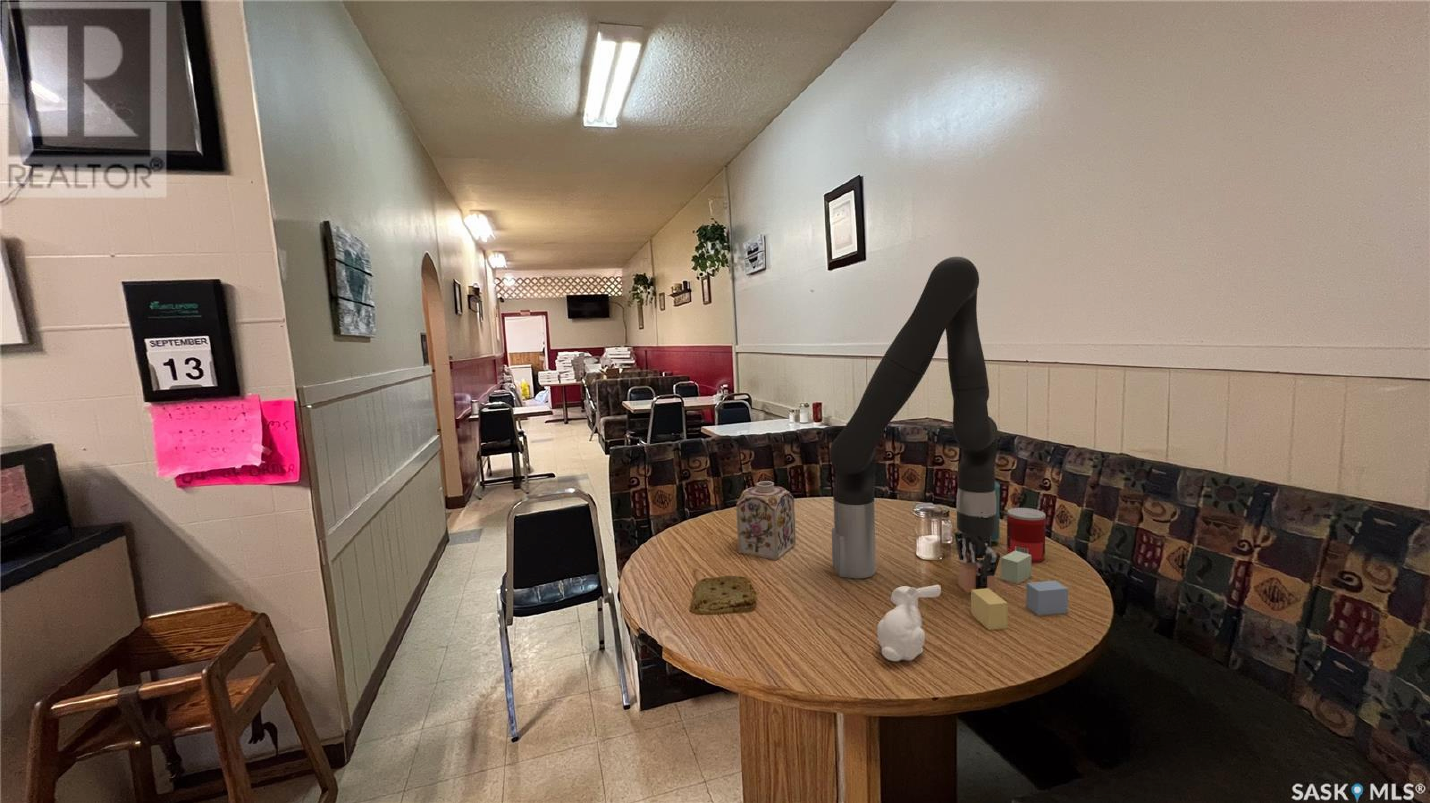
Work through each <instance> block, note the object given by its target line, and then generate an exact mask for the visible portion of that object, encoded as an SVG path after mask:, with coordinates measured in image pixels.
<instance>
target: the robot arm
mask: <svg viewBox="0 0 1430 803" xmlns="http://www.w3.org/2000/svg"><path fill="white" fill-rule="evenodd" d="M979 274H980V273H979V271H978V269H977V267H976V266H975V265H974V263H973V262H972V261H971V260H970V259H968V258H965V257H962V256H951V257H948V258H947V257H946V258H944V259H943V260H941V261H940V262H939V263H937V264H936V265H935V266H934V268H933V269H932V270H931V272H930V274H929V277H928V279H927V281H926V283H925V286H924V288H923V291H922V293H921V295H920V296H919V299H918V301H917V303H916V305H915V308H914V309H913V311H912V313H911V314H910V316H909V318H908V319H907V320H906V322H905V323H904V325H903V327H902V328H901V329H900V331H899V332H898V333H897V334H896V336H895V338H894V340H893V341H892V342H891V344H890V345H889V347H888V349H887V350H886V351H885V353H884V355H883V357H882V359H881V360H880V362H879V363H878V366H877V367H876V368H875V371H874V372H873V375H872V377H871V378H870V381H869V382H868V384H867V386H866V388H865V389H864V390H865V391H864V393H863V395H862V397H861V399H860V401H859V404H858V406H857V408H856V410H855V411H854V413H853V415H852V416H851V418H850V419H849V420H848V422H847V423H846V425H845V427H844V428H843V429H842V430H841V432H840V433H839V434H838V436H837V437H835V439H834V440H833V442H832V443H831V445H830V448H829V460H830V463H831V465H832V467H833V468H834V469H835V477H834V484H833V489H832V493H833V494H832V498H833V499H832V500H833V527H832V528H831V551H832V552H831V553H832V554H831V556H832V568H833V569H834V570H835V572H836V573H837V575H838V576H839V577H840V578H851V579H865V578H870V577H873V576H874V575H875V574H876V572H877V571H876V570H877V569H876V568H877V561H876V523H875V522H876V520H875V519H876V515H875V509H876V508H875V491H876V490H875V489H876V447H877V446H878V443H879V441H880V439H881V437H882V436H883V433H884V431H885V430H886V428H887V427H888V425H889V424H890V423H891V421H892V420H893V419H894V418H895V417H896V415H897V414H898V413H899V412H900V410H901V409H902V408H903V407H904V405H905V404H906V403H907V402H908V400H909V399H910V397H912V395H913V393H914V392H915V390H916V389H917V387H918V385H919V384H920V382H921V380H922V379H923V377H924V375H925V374H926V373H927V370H928V368H929V366H930V364H931V362H932V361H933V359H934V356H935V353H936V351H937V349H938V346H939V344H940V341H941V339H942V336H943V335H944V332H945V333H946V334H945V335H946V346H947V348H946V349H947V350H946V352H947V366H948V374H949V375H948V376H949V382H950V388H951V394H952V402H953V403H952V404H953V405H952V428H953V435H954V438H955V440H956V442H957V444H958V445H959V447H961V450H962V453H961V460H960V462H959V464H958V468H957V470H958V471H957V493H956V529H957V530H958V531H957V532H954V539H955V543H956V549H957V555H958V559H959V561H962V563H969V562H972V563H973V564H975V572H976V589H985V588H987V576H994V575H995V574H996V572H997V569H998V566H999V563H1000V561H1001V555H1000V553H999V552H995V551H994V550H993V549H992V541H990V537H991V536H992V535H993V534H995V532H996V495H995V481H996V470H995V464H996V457H997V452H998V444H999V443H998V442H999V429H998V425H997V424H996V421H995V420H994V419H993V418H992V417H991V416H989V410H988V409H989V408H988V400H989V398H990V388H989V387H990V385H989V379H988V374H987V373H988V372H987V371H988V370H987V366H986V360H985V355H984V351H983V346H982V343H981V337H980V332H979V326H978V316H977V315H978V313H977V311H978V310H977V308H978V307H977V302H978V289H979V286H980V275H979ZM981 564H982V568H981V570H980V565H981ZM989 569H990V570H989Z"/></svg>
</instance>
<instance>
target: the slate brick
mask: <svg viewBox="0 0 1430 803" xmlns="http://www.w3.org/2000/svg"><path fill="white" fill-rule="evenodd" d="M1025 589H1026V590H1025V591H1026V593H1025V595H1026V597H1025V599H1026V600H1025V602H1026V603H1025V607H1026V608H1027V609H1028V610H1030V611H1031V612H1033V613H1034V614H1035V615H1037V616H1038V617H1039V616H1049V615H1059V614H1068V613H1069V612H1068V611H1069V588H1068V587H1067V586H1065V585H1064V584H1062V583H1060V582H1059V581H1058V580H1047V581H1037V582H1036V581H1035V582H1026V588H1025Z"/></svg>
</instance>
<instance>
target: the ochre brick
mask: <svg viewBox="0 0 1430 803" xmlns="http://www.w3.org/2000/svg"><path fill="white" fill-rule="evenodd" d="M970 605H971V607H970V612H971V613H970V614H971V615H972V616H973V617H974V618H975V619H976V620H977V621H978V622H979V623H981V624H982V625H983V626H984V627H985V628H986V629H987V630H988V631H994V630H1002V629H1008V602H1007V601H1005V600H1004V599H1003V598H1002V597H1000V596H999V595H998V594H997V593H996V592H994V591H991V590H990V589H989V588H985V589H974V590H971V592H970Z"/></svg>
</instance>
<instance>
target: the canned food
mask: <svg viewBox="0 0 1430 803" xmlns="http://www.w3.org/2000/svg"><path fill="white" fill-rule="evenodd" d="M1006 515H1007V516H1006V552H1007V553H1006V554H1009V553H1011V552H1013V551H1019V552H1022V553H1026V554H1029V555H1031V564H1032V563H1040V562H1043V561H1044V559H1045V557H1046V530H1047V529H1046V528H1047V527H1046V526H1047V521H1046V520H1047V517H1046V513H1045V512H1044V511H1041V510H1037V509H1035V508H1029V507H1013V508H1010V509H1008V510H1007V513H1006Z"/></svg>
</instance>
